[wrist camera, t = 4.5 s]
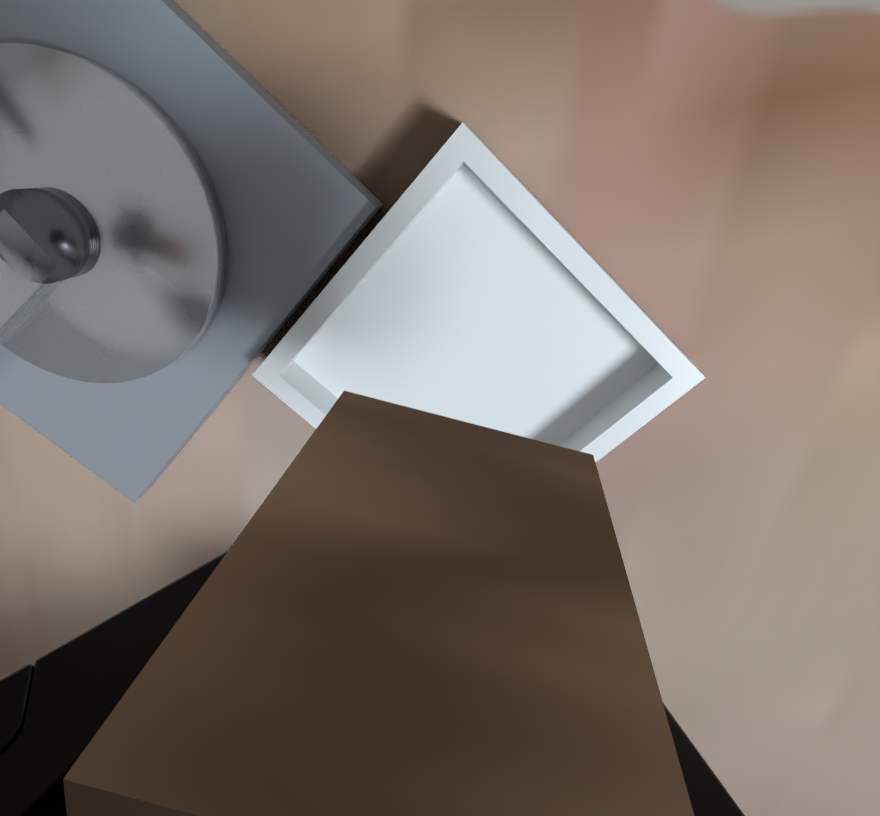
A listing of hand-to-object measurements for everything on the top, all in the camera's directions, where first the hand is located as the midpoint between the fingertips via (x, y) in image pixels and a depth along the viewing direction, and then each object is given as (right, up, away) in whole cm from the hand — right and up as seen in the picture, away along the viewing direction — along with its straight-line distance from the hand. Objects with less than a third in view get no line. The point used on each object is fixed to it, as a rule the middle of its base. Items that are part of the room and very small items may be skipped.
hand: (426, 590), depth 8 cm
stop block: (0, +1, +1) cm, 2 cm away
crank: (-12, +7, +9) cm, 16 cm away
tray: (+1, +4, +9) cm, 10 cm away
